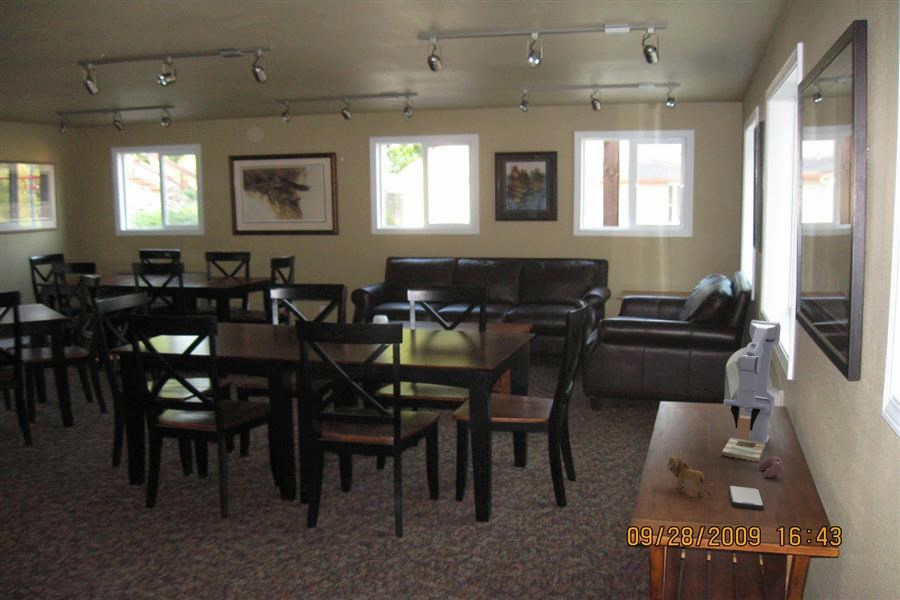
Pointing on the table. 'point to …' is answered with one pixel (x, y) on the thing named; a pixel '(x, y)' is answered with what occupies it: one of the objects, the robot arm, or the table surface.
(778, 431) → the table surface
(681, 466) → the lion figurine
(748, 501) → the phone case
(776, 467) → the video game controller
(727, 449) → the board
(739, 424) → the terracotta block
